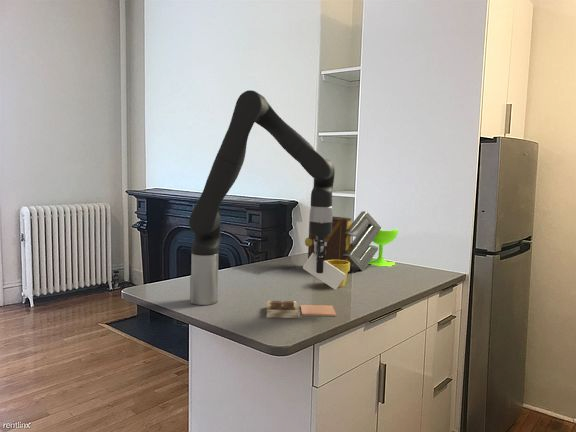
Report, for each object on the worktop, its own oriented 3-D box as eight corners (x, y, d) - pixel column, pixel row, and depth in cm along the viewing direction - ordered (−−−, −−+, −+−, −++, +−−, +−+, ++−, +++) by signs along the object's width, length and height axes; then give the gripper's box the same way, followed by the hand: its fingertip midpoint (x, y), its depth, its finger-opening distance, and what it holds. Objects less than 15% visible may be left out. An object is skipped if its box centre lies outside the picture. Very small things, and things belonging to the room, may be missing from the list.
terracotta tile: (302, 315, 159) (302, 313, 159) (300, 306, 169) (300, 305, 169) (336, 316, 159) (336, 314, 159) (332, 307, 169) (332, 305, 169)
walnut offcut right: (283, 313, 158) (283, 303, 157) (283, 311, 160) (283, 300, 160) (293, 313, 158) (294, 303, 158) (293, 311, 160) (293, 301, 160)
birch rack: (266, 317, 156) (266, 310, 156) (266, 307, 167) (267, 300, 167) (298, 318, 156) (298, 310, 156) (296, 307, 167) (296, 301, 167)
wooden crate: (351, 271, 227) (353, 218, 224) (343, 275, 220) (345, 219, 217) (310, 265, 238) (311, 214, 236) (301, 268, 231) (302, 215, 229)
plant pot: (318, 285, 200) (319, 261, 199) (334, 281, 207) (334, 258, 206) (338, 290, 193) (339, 265, 192) (354, 285, 200) (355, 262, 199)
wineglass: (383, 268, 235) (384, 231, 233) (357, 263, 247) (359, 227, 245) (402, 265, 246) (404, 229, 244) (377, 259, 258) (379, 225, 256)
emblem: (370, 265, 242) (372, 209, 239) (379, 267, 239) (382, 210, 236) (338, 274, 221) (341, 212, 218) (348, 276, 217) (351, 213, 214)
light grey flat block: (335, 290, 162) (303, 268, 161) (334, 288, 165) (302, 267, 164) (345, 275, 162) (313, 253, 161) (344, 273, 164) (312, 252, 163)
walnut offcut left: (270, 313, 158) (271, 302, 157) (270, 311, 160) (271, 300, 160) (281, 313, 158) (281, 302, 157) (281, 311, 160) (281, 300, 160)
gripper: (307, 217, 168) (306, 267, 169) (311, 222, 154) (309, 276, 156) (329, 218, 168) (328, 267, 170) (334, 222, 154) (333, 277, 156)
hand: (319, 271), depth 163 cm, fingers closed on light grey flat block, 2 cm apart
